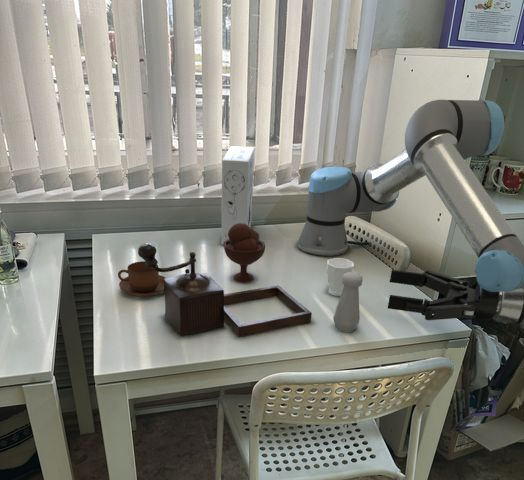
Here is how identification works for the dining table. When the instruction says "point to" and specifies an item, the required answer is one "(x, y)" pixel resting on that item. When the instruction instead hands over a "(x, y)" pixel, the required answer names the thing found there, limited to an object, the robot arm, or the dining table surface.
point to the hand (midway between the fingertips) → (389, 288)
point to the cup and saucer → (141, 280)
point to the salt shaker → (348, 303)
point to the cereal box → (237, 188)
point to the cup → (337, 274)
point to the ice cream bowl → (243, 249)
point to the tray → (268, 324)
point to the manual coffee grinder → (188, 296)
